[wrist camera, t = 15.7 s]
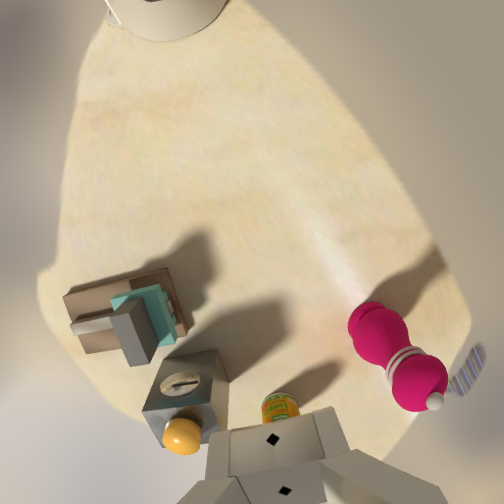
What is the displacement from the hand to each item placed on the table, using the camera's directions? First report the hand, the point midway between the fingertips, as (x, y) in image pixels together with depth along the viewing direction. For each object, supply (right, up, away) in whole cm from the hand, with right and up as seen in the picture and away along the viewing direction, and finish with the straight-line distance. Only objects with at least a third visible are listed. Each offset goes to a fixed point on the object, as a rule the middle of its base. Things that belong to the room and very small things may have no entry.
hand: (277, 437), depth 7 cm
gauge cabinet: (-8, -12, +36) cm, 39 cm away
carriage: (-14, -3, +32) cm, 35 cm away
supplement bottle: (+3, -18, +38) cm, 42 cm away
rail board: (-18, -4, +34) cm, 39 cm away
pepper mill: (+16, -5, +36) cm, 39 cm away
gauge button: (-8, -15, +24) cm, 29 cm away
